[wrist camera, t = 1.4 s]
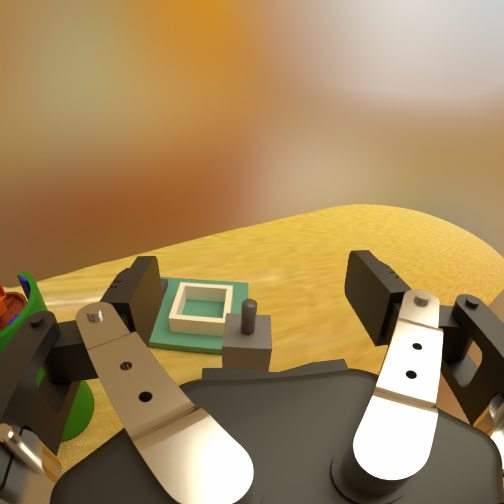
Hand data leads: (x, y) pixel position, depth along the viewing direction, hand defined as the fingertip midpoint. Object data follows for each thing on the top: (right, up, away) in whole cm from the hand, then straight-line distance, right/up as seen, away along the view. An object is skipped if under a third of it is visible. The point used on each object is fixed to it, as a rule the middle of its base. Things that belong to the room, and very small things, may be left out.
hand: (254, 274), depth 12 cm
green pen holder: (-22, -17, +13) cm, 31 cm away
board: (-11, -8, +29) cm, 32 cm away
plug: (-1, -15, +18) cm, 24 cm away
